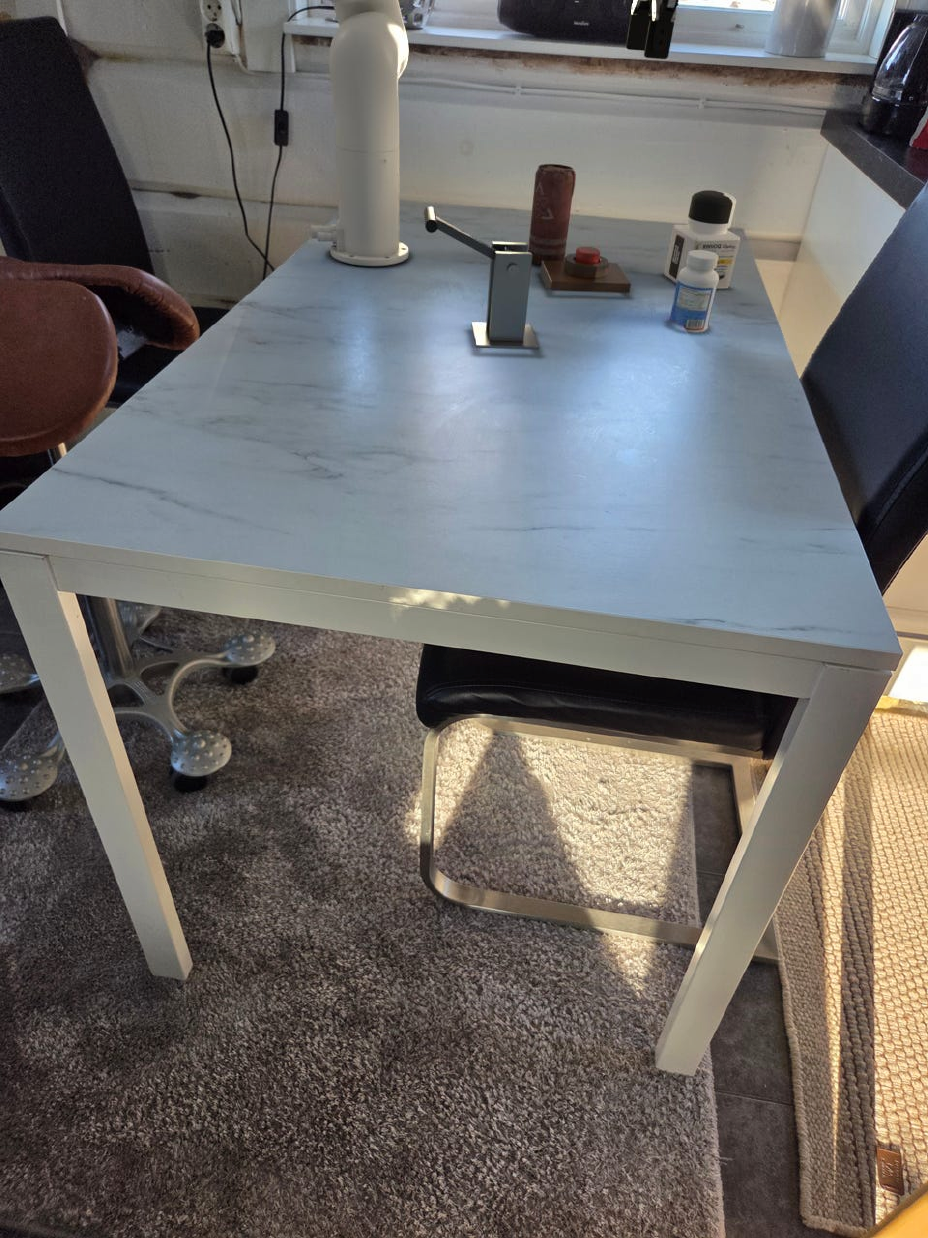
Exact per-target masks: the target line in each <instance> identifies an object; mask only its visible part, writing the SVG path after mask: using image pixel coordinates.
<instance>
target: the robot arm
mask: <svg viewBox="0 0 928 1238" xmlns="http://www.w3.org/2000/svg"><path fill="white" fill-rule="evenodd" d="M328 1H329V2H331V3H332V5H333V6H332V7H333V9H334V13H335V16H336V19H337V22H338V27H337V29H336V30H335V33H334V35H333V37H332V40H331V42H330V47H329V53H328V55H329V56H328V69H329V80H330V87H331V96H332V104H333V116H334V138H335V139H334V140H335V141H334V142H335V157H336V160H335V161H336V182H337V183H336V184H337V206H338V207H337V208H338V211H337V212H338V219H337V221H336V224H332V223H331V224H330V226H323V225H310V236H311V237H310V238H311V239H312V240H313V239H314V240H315V239H316V240H317V242H323V243H325V242H326V243H327V242H332V243H331V244H330V247H329V251H330V252H329V253H330V255H331V257H332V258H334V259H335V260H336V261H339V262H342V263H345V264H349V265H353V266H359V267H361V266H362V267H385V266H386V267H387V266H393V265H396V264H397V265H398V264H400V263H403V262H405V261H406V260H407V259H408V258H409V256H410V250H409V247H408V245H406V244H405V243H403V242H401V241H400V163H401V161H400V153H401V152H400V106H399V104H400V103H399V79H400V77H401V76H402V75H403V73H404V71H405V69H406V67H407V63H408V60H409V40H408V35H407V31H406V27H405V23H404V19H403V14H402V10H401V7H400V2H399V0H328ZM679 2H680V0H633V3H632V5H631V9H630V10H631V14H630V18H629V24H628V30H627V37H626V44H625V48H626V50H629V51H630V50H631V51H643V56H644V58H646V59H654V60H655V59H657V60H667V59H668V58H669V54H670V48H671V43H672V38H673V32H674V28H675V22H676V18H677V7H678V6H679Z"/></svg>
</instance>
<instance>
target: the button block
mask: <svg viewBox="0 0 928 1238" xmlns="http://www.w3.org/2000/svg"><path fill="white" fill-rule="evenodd" d="M575 257H576V252H575V253H569V254H568V255H565V259H564V261H542V265H541V266H540V277H541V279H542V281H543V284H544V286H545V289H549V290H550V291H559V292H560V291H564V292H589V293H590V292H593V293H596V292H597V293H620V294H621V293H622V294H623V293H624V294H625V293H626V294H629V293H630V291H631V286H632V283H631V282H630V280H629V279H628V277H627V275H626V274H625V273H624V271H623V269H622V268H621V267H620V266H619V264H618V263H617V262H610V261H609V260H608V258H607V257H604V256H602V255H600V258H599V263H596V264H585V263H580V262H577V261H575Z"/></svg>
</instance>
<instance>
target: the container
mask: <svg viewBox="0 0 928 1238" xmlns="http://www.w3.org/2000/svg"><path fill="white" fill-rule="evenodd" d="M736 204H737V199H736V198H735V197H734V195H732V194H730V193H728V192H724V191H720V190H712V189H707V190H705V189H704V190H700V191H697V192H695V193H694V194H693V195H692V196H691V201H690V206H689V210H688V216H687V220H686V223H687V224H674V225H673V228H672V232H671V238H670V242H669V246H668V251H667V257H666V262H665V267H664V271H663V275H664V276H665V277H666V278H668V279H669V280H670V281H672V282H673V283H674V284H676V285H677V281H678V276H679V273H680V271H681V270H682V269H683V268H685V267H687V266H688V265H687V262H686V260H687V257H688V253H689V252H690V251H692V250H705V251H710V252H714V253H716V254H717V255H718V262H717V266H716V268H714V271H716V272H717V273H718V275H719V281H718V285H717V290H726V289H728V288H729V286H730V282H731V278H732V275H733V270H734V267H735V262H736V258H737V254H738V251H739V246H740V243H741V237H740V236H739V235H738V234H737V235H736V234H735V233H733V232H731V231H730V230H728V229H730V228H731V224H732V220H733V217H734V212H735V209H736Z"/></svg>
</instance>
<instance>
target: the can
mask: <svg viewBox="0 0 928 1238" xmlns="http://www.w3.org/2000/svg"><path fill="white" fill-rule="evenodd" d="M534 175H535V176H534V185H533V196H532V206H531V216H530V226H529V236H528V251H527V252H530V253H532V265H535V266H540V267H541V265H542V261H565V257H566V250H567V242H568V235H569V225H570V219H571V218H570V217H571V212H572V211H571V210H572V202H573V198H574V193H575V189H576V180H577V179H576V178H577V173H576V171H575V170H574V168H573V167H572V166H569V165H565V164H557V163H555V164H554V163H544V164H540V165H539V166H538V167H537V169H536V172H535V174H534Z"/></svg>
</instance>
